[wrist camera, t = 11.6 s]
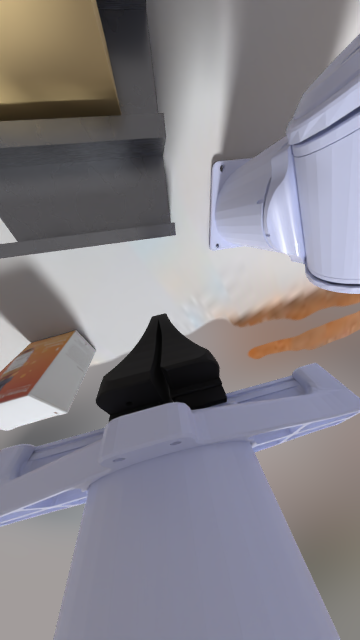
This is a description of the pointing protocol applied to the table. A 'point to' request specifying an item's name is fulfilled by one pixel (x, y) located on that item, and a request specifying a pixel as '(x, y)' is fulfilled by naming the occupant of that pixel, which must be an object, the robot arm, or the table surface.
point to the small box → (43, 379)
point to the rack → (91, 158)
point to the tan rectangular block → (54, 61)
